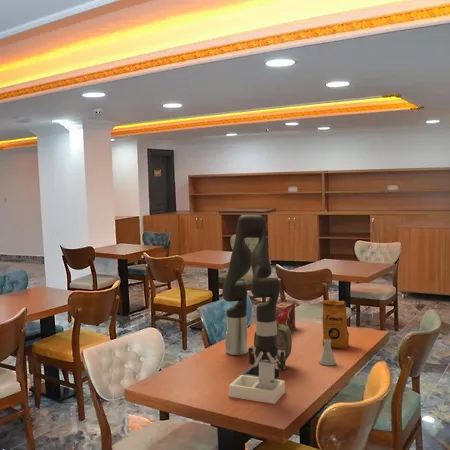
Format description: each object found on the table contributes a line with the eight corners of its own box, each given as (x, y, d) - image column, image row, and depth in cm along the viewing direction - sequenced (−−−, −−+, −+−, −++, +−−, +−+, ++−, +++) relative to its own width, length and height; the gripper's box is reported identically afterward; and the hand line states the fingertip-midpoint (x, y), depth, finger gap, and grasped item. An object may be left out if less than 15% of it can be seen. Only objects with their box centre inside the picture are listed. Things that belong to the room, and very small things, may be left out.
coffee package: (347, 350, 244) (346, 303, 242) (320, 348, 248) (319, 301, 247) (350, 344, 253) (350, 299, 251) (324, 342, 258) (324, 297, 256)
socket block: (240, 383, 208) (240, 374, 207) (250, 373, 218) (250, 365, 217) (264, 386, 203) (264, 378, 203) (273, 377, 213) (273, 368, 213)
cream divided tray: (229, 396, 195) (228, 385, 195) (241, 385, 205) (241, 374, 205) (274, 403, 188) (274, 392, 187) (284, 391, 198) (284, 380, 198)
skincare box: (258, 394, 194) (257, 362, 193) (261, 390, 198) (261, 358, 197) (274, 396, 192) (274, 363, 191) (277, 392, 196) (277, 360, 195)
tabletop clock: (254, 368, 224) (253, 310, 222) (260, 361, 232) (259, 305, 230) (288, 372, 219) (287, 312, 217) (293, 364, 227) (292, 307, 225)
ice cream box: (284, 326, 288) (284, 302, 286) (295, 327, 284) (294, 303, 283) (266, 335, 271) (266, 310, 270) (277, 337, 267) (277, 311, 266)
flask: (336, 366, 224) (336, 343, 223) (318, 365, 225) (318, 342, 224) (336, 360, 231) (335, 338, 230) (319, 360, 232) (318, 337, 231)
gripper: (244, 333, 193) (245, 377, 194) (282, 337, 187) (282, 383, 188) (251, 327, 199) (252, 371, 201) (288, 331, 193) (289, 375, 195)
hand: (267, 376), depth 194 cm, fingers open, 7 cm apart
